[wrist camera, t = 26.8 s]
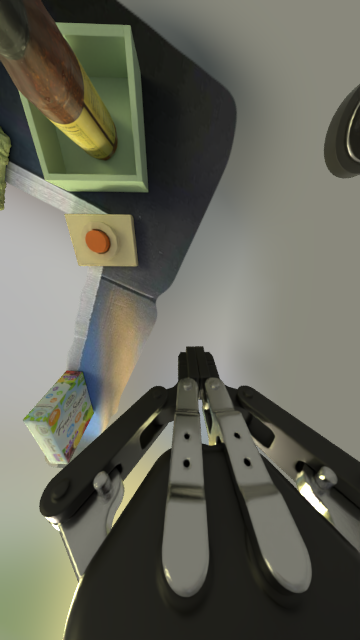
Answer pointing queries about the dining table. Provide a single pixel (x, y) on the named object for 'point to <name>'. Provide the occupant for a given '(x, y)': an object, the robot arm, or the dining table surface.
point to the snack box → (61, 417)
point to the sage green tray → (121, 102)
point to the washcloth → (3, 164)
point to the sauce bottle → (54, 76)
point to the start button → (97, 241)
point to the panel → (116, 231)
